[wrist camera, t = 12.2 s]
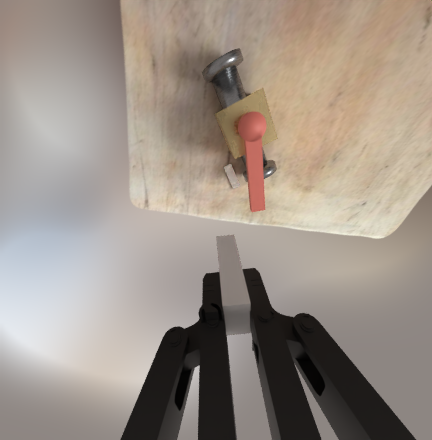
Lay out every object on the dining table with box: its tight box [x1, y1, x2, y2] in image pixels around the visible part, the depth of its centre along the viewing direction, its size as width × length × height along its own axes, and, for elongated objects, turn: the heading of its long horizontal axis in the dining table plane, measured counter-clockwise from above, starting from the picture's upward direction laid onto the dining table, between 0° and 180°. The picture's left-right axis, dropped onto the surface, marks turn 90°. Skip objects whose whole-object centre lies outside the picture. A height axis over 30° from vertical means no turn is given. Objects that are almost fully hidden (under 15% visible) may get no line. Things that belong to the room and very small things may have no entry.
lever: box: [238, 111, 266, 212], centre depth 27 cm, size 14×4×1 cm, turn 10°
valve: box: [202, 49, 277, 189], centre depth 30 cm, size 20×9×9 cm, turn 25°
